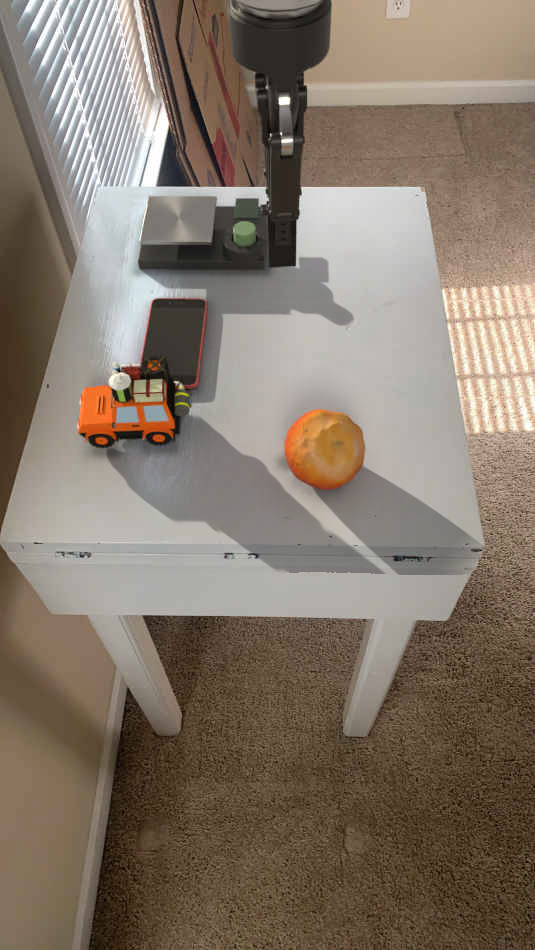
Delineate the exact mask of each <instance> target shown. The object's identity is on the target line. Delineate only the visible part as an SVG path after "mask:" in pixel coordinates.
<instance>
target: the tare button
mask: <svg viewBox="0 0 535 950" xmlns="http://www.w3.org/2000/svg"><path fill="white" fill-rule="evenodd" d="M233 235H234V242H235V244H236V245H238V246H246V247H248V246H251V245H253V244H254V243H255V242H256V227H255V225H254V224H253V223H251V222H247V221H242V222H239V223H237V224H235V225H234V227H233Z"/></svg>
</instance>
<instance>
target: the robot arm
mask: <svg viewBox="0 0 535 950" xmlns="http://www.w3.org/2000/svg"><path fill="white" fill-rule="evenodd" d="M332 6H333V3H332V0H229V1H228V3H227V15H228V18H227V19H228V31H229V32H228V33H229V45H230V46H229V47H230V53H231V55H232V57H233V59H234V60H235V62H237V64H239V65H240V66H241V67H243V68H244V69H246V70H247V71H251V72H253V74H254V90H255V91H254V92H255V96H256V107H257V114H258V120H259V126H260V136H261V143H262V145H263V149H264V150H263V151H264V152H263V153H264V169H263V176H264V178H265V180H266V186H265V188H264V189H265V195H266V197H267V199H268V200H266V202H265V204H260V206H261V216H266V215H267V227H266V233H267V241H268V251H267V260H268V268H269V269H271V268H287V267H297V231H298V230H297V227H298V225H297V223H298V221H299V219H300V216H301V210H300V196H301V197H302V194H303V192H302V185H301V178H302V177H301V176H302V175H301V174H302V157H303V150H304V144H306V141H305V140H306V137H305V134H304V126H305V113H306V111H307V109H308V85H307V84H305V72H306V71H308V70H311V69H314V68H315V67H316V66H319V64H321V63H322V62H323V61H324V60H325V59H326V57H327V55H328V54H329V51H330V46H331V29H332V10H333V9H332Z"/></svg>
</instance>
